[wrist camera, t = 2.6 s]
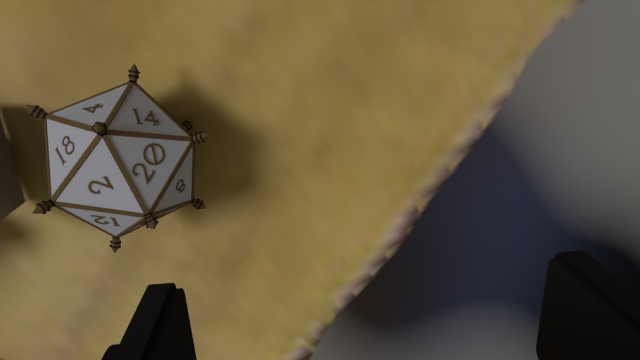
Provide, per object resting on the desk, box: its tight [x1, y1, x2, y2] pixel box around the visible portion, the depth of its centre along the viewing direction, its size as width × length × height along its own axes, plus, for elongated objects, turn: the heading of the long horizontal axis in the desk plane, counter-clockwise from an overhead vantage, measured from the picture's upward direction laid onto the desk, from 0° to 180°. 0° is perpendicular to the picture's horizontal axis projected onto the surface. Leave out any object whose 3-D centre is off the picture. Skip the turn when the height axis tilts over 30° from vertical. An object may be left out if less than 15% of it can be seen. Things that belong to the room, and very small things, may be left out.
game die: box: [26, 63, 210, 253], centre depth 24 cm, size 9×8×10 cm
